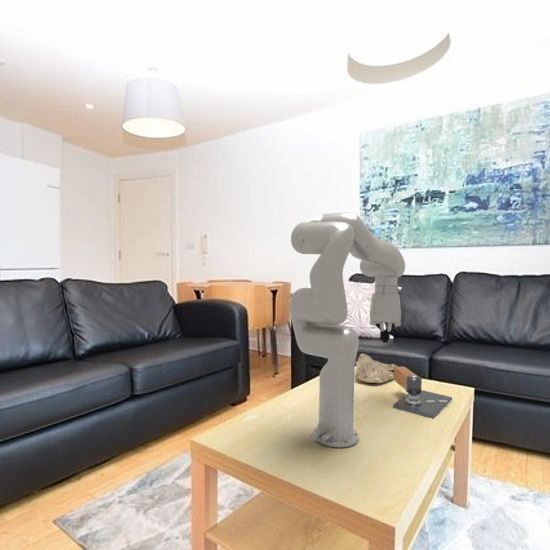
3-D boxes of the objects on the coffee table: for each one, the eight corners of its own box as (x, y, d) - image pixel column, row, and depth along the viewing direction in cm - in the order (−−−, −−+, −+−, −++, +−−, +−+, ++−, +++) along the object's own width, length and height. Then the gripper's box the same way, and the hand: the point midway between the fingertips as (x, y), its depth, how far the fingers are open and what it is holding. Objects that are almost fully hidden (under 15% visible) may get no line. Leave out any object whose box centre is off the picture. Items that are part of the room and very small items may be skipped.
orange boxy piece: (423, 394, 128) (424, 377, 127) (409, 394, 127) (410, 378, 127) (405, 379, 142) (405, 364, 142) (392, 379, 142) (393, 365, 142)
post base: (434, 418, 120) (434, 404, 120) (393, 407, 128) (393, 394, 128) (453, 400, 135) (453, 388, 135) (415, 391, 144) (415, 379, 143)
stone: (368, 344, 178) (401, 345, 170) (371, 364, 180) (403, 366, 172) (347, 371, 153) (384, 374, 146) (350, 395, 155) (388, 399, 147)
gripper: (405, 289, 137) (403, 340, 138) (362, 288, 139) (361, 339, 140) (410, 291, 130) (409, 345, 131) (365, 291, 131) (364, 343, 132)
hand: (384, 341), depth 135 cm, fingers closed
